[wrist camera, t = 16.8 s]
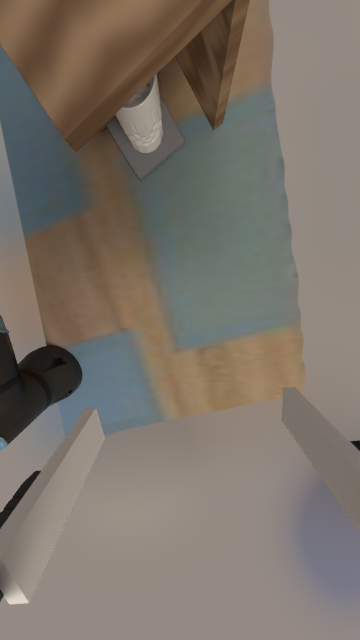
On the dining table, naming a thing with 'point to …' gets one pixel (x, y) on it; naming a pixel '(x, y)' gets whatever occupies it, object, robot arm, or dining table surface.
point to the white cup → (143, 118)
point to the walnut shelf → (119, 53)
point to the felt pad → (150, 161)
